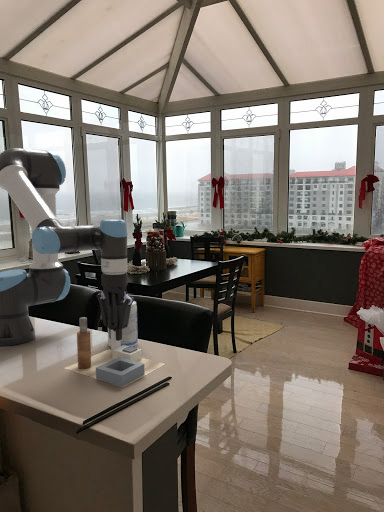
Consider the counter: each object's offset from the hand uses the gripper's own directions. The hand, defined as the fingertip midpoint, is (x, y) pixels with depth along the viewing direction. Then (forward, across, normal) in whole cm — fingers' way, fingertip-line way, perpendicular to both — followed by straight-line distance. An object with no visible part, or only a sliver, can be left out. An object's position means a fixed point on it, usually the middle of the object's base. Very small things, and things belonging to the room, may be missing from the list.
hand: (116, 350), depth 123 cm
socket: (+2, +11, -10) cm, 15 cm away
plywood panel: (+3, +5, -5) cm, 8 cm away
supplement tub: (+3, -6, +10) cm, 12 cm away
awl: (+2, -2, -10) cm, 11 cm away
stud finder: (+2, +4, 0) cm, 5 cm away
